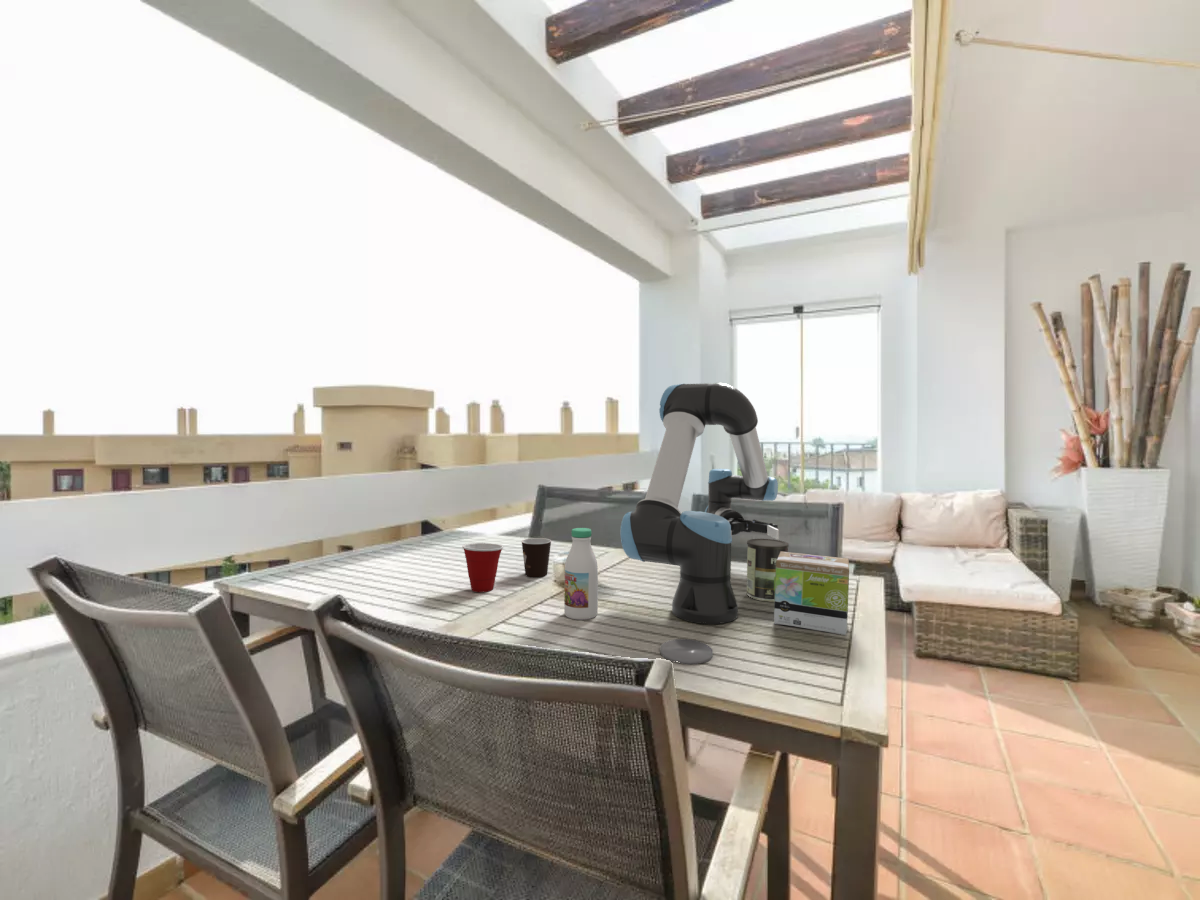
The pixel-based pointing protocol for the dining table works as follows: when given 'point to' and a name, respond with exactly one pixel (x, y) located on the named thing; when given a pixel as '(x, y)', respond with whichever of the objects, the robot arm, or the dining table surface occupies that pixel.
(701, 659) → the slate coaster
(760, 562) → the coffee can
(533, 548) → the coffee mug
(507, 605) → the dining table surface
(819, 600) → the tea box
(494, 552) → the plastic cup
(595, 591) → the milk bottle
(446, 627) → the dining table surface
